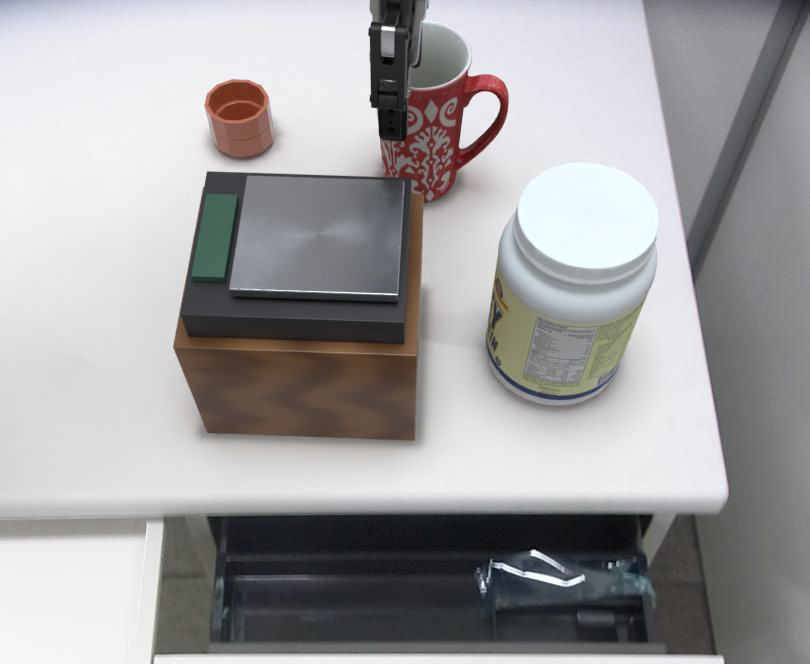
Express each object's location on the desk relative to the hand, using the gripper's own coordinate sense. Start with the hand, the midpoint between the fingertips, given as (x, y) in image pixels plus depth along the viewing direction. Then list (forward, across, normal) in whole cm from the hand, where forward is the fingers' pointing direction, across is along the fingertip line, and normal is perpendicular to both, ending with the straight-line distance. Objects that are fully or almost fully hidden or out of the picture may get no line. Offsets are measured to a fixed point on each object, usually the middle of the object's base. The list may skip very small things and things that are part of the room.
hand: (400, 100), depth 67 cm
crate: (+15, +15, -5) cm, 22 cm away
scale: (+4, +15, -5) cm, 16 cm away
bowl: (+15, -12, -18) cm, 26 cm away
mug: (+15, -8, +2) cm, 18 cm away
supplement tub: (+16, +11, +15) cm, 25 cm away
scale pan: (+1, +15, -4) cm, 15 cm away
